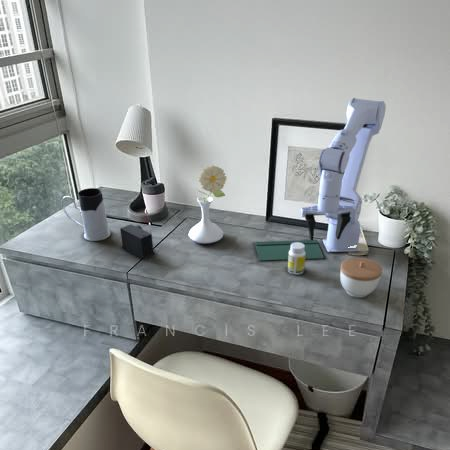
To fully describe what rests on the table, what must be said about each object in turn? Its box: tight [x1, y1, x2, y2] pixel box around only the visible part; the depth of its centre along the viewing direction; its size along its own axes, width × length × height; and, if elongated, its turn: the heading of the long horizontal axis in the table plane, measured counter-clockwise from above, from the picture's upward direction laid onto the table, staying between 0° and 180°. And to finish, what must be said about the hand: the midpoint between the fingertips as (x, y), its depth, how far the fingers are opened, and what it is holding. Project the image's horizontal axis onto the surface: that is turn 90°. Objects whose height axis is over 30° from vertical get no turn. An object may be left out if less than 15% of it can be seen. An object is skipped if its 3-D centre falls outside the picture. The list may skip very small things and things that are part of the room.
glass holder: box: [60, 187, 111, 242], centre depth 158 cm, size 9×14×15 cm, turn 89°
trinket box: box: [339, 256, 383, 298], centre depth 130 cm, size 11×11×9 cm
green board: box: [254, 239, 325, 262], centre depth 152 cm, size 20×12×1 cm, turn 93°
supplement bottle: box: [287, 242, 306, 275], centre depth 140 cm, size 5×5×8 cm
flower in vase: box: [188, 165, 228, 244], centre depth 152 cm, size 13×11×25 cm
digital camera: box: [120, 223, 154, 259], centre depth 152 cm, size 10×5×7 cm, turn 47°
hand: (324, 238), depth 139 cm, fingers open, 7 cm apart
